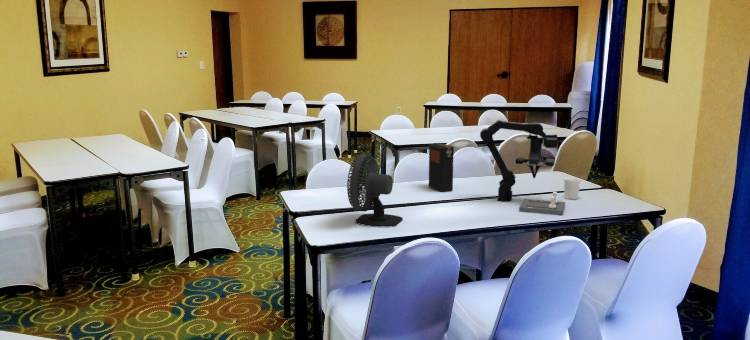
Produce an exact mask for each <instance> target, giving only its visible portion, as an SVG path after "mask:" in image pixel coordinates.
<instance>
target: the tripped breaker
mask: <svg viewBox="0 0 750 340" xmlns="http://www.w3.org/2000/svg"><path fill="white" fill-rule="evenodd" d="M557 193H558V192H557V191H553V192H552V196H553V197H555V203H557V202H559V200H558V199H557Z"/></svg>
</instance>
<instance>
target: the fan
mask: <svg viewBox="0 0 750 340" xmlns="http://www.w3.org/2000/svg"><path fill="white" fill-rule="evenodd" d="M348 170H349V171H348V174H347V181H346V182H347V184H346V185H347V186H346V187H347V197H348V202H349V204H350V206H351V207H352V208H353V209H354V210H355V211H357V212H367V211H369V210H370V209H372V208H373V213H364V214H361V215H360V216H359V217H358V218H356V219H355V220H354V222H355V221H356V222H357V223H356V222H355V223H356V224H358V223H360V224H359V225H361V224H364V225H363V226H367V225H370V226H369V227H375V226H392V227H396V226H398V225H399V224H400V223H401V222H402V221H403V220H404V219H403V217H402V216H399V215H394V214H388V213H385V205H384V204H383V203H382V201H381V199H380V196H381V195H386V196H387V195H390V194H391V193H392V191H393V188H394V187H393V185H394V181H393V176H392V175H390V174H384V173H383V174H382V173H380V167H379V165H378V162H377V160H376V159H375V158H374V157H373V156H372V155H370V154H359V155H358V156H356V157H355V158H354V159H353V160H352V162H351V164H350V166H349V169H348ZM398 223H399V224H398ZM397 224H398V225H397Z"/></svg>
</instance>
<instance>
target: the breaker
mask: <svg viewBox="0 0 750 340" xmlns="http://www.w3.org/2000/svg"><path fill="white" fill-rule="evenodd" d="M550 201H551V204H549V208H556V205H555V197H553V195H552V196H551V197H550Z"/></svg>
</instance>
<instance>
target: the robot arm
mask: <svg viewBox="0 0 750 340" xmlns="http://www.w3.org/2000/svg"><path fill="white" fill-rule="evenodd" d="M502 129H503V130H511V131H520V132H525V133H528V135H527V136H526V139H527V140H530V141H529V154H528V158H526V157H525V156H517V157H516V158H515V164H517V165H522V164H523V163H526V164H527V165H526V167H529V169H530V172H531V174H532V178H533V179H536V176H537V174H538V172H539V169H540V168H542V167H543V164H545V165H546V166H547V167H554V166H555V164H556V163H555V162H556V161H555V159H554V158H546V159H544V155H543V154H542V150H543V149H542V148H543V147H544V148H545V149H557V148H558V145H559V142H558V135H557V134H546V132H545V131H544V126H543V125H542V124H541V123H540V122H538V121H537V122H525V123H523V122H515V121H508V120H507V121H506V120H505V121H504V120H501V119H498V120H496V122H494V123H493V124H491V125H490V126H488V127H487V128H483V129H481V131H480V133H479V137H480V140H482V142H483V143H484V144H485V146H487V148H488V150H489V152H490V154H491V155H492V157H493V159H494V161H495V163H496V165H497V167H498V169H499V171H500V174H501V177H502V179H501V180H499V182H498V185H499V187H498V188H497V189H498V190H497V191H498V192H497V201H498V202H499V201H500V202H511V201H512V200H513V189H512V187H513V186H514V185H515V184H516V175H515V173H514V171H513V169H512V168H510V169H509V168H508V166H507V165H506V163H505V161H504V159H503V157H502V155H501V153H500V151H499V149H498V147H497V145H496V144H495V143H496V142H495V140H494V137H493V136H494V135H495V134H496V133H497V132H498V131H499V130H502Z"/></svg>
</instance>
